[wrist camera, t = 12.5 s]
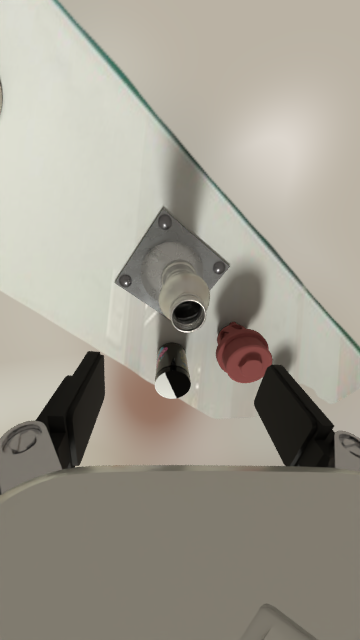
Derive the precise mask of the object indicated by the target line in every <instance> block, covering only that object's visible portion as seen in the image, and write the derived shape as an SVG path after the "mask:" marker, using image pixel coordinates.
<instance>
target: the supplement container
mask: <svg viewBox="0 0 360 640" xmlns="http://www.w3.org/2000/svg"><path fill="white" fill-rule="evenodd" d="M190 386H191V382H190V375H189V371H188V365H187V359H186V353H185V350H184V348H183V347H182V346H180V345H179V344H176V343H167V344H165V345H163V346H162V347H161V348H160V349H159V350H158V353H157V366H156V377H155V389H156V391H157V392H158V393H159V394H160V395H161V396H163V397H166V398H170V399H172V398H179V397H182V396H183V395H185V394H186V393H187V392H188V391H189V389H190Z"/></svg>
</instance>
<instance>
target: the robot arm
mask: <svg viewBox="0 0 360 640" xmlns="http://www.w3.org/2000/svg"><path fill="white" fill-rule="evenodd" d="M1 107H2V92H1V86H0V113H1ZM104 396H105V382H104V355H100V352H93V351H89V352H87V354H86V355H85V357H84V359H83V360H82V362H81V363H80V365H79V367H78V368H77V370H76V371H75V373H74V374H73V376H69V375H68V376H66V377H65V378H64V380H63V381H62V383H61V384H60V386H59V387H58V388H57V390H56V391H55V393H54V394H53V396H52V397H51V399H50V400H49V402H48V403H47V405H46V406H45V408H44V409H43V411H42V412H41V414H40V415H39V417H38V418H37V419H36V421H27V422H24V423H21V424H18V425H17V426H15V427H13V428H11V429H10V430H8V431H7V432H6V433H5V434H4V435H3V436H2V437H1V438H0V640H360V438H358V437H356V436H355V435H353V434H351V433H348V432H345V431H337V432H333V430H332V429H333V427H334V425H333V424H332V423H331V421H330V420H329V419H328V418H327V417H326V416H325V414H324V413H323V412H322V411H321V410H320V409H319V408H318V406H317V405H316V404H315V403H314V402H313V401H312V399H311V398H310V397H309V396H308V395H307V394H306V393H305V391H304V390H303V389H302V388H301V387H300V386H299V384H298V383H297V382H296V381H295V380H294V379H293V377H292V376H291V375H290V374H289V373H288V372H287V371H286V369H285V368H284V367H283V366H281V365H270V366H269V367H267V369H266V371H265V374H264V377H263V379H262V382H261V384H260V387H259V390H258V392H257V395H256V397H255V400H254V405H255V408H256V410H257V412H258V414H259V416H260V418H261V420H262V421H263V423H264V426H265V427H266V430H267V432H268V434H269V435H270V437H271V439H272V441H273V443H274V445H275V447H276V449H277V451H278V453H279V455H280V457H281V459H282V461H283V463H284V464H285V466H215V465H214V466H213V465H208V466H207V465H115V466H88V467H76V468H75V466H79V465H80V463H81V461H82V458H83V455H84V452H85V449H86V447H87V444H88V441H89V439H90V436H91V433H92V430H93V428H94V425H95V422H96V419H97V416H98V414H99V411H100V408H101V406H102V403H103V400H104Z"/></svg>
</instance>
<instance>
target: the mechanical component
mask: <svg viewBox="0 0 360 640" xmlns="http://www.w3.org/2000/svg"><path fill="white" fill-rule="evenodd" d="M217 342H218V347H217V350H216V358H217V361H218V363H219V365H220V367H221V368H222V369H223V370H224V371H225V372H227V373H228V375H229V377H230V378H231V379H232V380H234V381H236V382H240V383H250V382H254V381H257V380H259V379H261V378H262V377H263V376H264V374H265V371H266V369H267V367H269V366H270V365H272V355H271V353H270V352H269V348H268V344H267V342H266V340H265V339H264V338H263V336H262V335H261V334H259V333H258V332H256V331H254V330H251V329H246V328H245V327H243V326H241V325H238V324H236V323H235V322H231V323H230V325H229V326H226V327H225V328H223V329H222V330H221V331H220V333H219V335H218V338H217Z"/></svg>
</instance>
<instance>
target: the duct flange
mask: <svg viewBox="0 0 360 640" xmlns="http://www.w3.org/2000/svg"><path fill="white" fill-rule="evenodd" d="M178 259H181V260H186V261H188V262H189V263H191V264H192V265H193V267H194V268H195V270H196V274H197V275H198V276H199V277H201V278H202V279H203V280H204V281H205V282H206V284H207V286H208V288H209V291H210V290H211V288H212V287H213V286H214V285H215V284H216V282H217V281H218V280H219V279H220V278H221V276H222V275H223V274H224V273H225V272H226V270H227V269H228V268H229V267H230V266H229V265H227V264H226V263H225V262H224V261H223V260H222V259H221V258H219V257H218V256H217V255H216V254H215V253H214V252H212V251H211V250H210V249H209V248H208V247H207V246H206V245H204V244H203V243H202V242H201V241H200V240H199V239H197V238H196V237H195V236H194V235H193V234H192V233H191V232H189V231H188V230H187V229H186V228H185V227H184V226H183V225H181V224H180V223H179V222H178V221H177V220H176V219H174V218H173V217H172V216H171V215H170V214H169V213H168V212H166V211H165V210H164V209H162V211H161V212H160V214H159V216H158V217H157V219H156V220H155V222H154V223H153V225H152V226H151V228H150V229H149V231H148V232H147V234H146V235H145V237H144V239H143V240H142V242H141V243H140V245H139V246H138V248H137V249H136V251H135V252H134V254H133V255H132V257H131V258H130V260H129V262H128V263H127V265H126V266H125V268H124V269H123V271H122V272H121V274H120V275H119V277H118V278H117V280H116V282H115V283H116V284H117V285H119V286H120V287H122V288H123V289H125V290H126V291H128V292H129V293H131V294H132V295H134V296H135V297H137V298H138V299H140V300H141V301H143V302H144V303H146V304H147V305H149V306H150V307H152V308H153V309H155V310H156V311H158V312H159V313H161V314H162V315H164V314H163V312H162V311H161V308H160V305H159V294H160V290H161V288H162V284H161V273H162V271H163V269H164V267H165V266H166V265H167V264H168V263H170V262H171V261H174V260H178ZM164 316H165V315H164ZM165 317H166V316H165Z"/></svg>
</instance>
